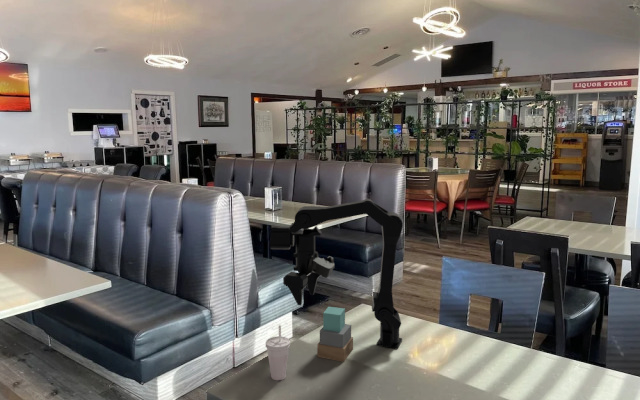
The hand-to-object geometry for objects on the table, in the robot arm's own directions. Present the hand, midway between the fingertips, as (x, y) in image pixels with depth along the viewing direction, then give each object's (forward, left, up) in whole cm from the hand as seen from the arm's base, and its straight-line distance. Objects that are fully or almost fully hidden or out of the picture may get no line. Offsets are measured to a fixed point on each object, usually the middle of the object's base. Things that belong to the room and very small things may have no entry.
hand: (305, 299), depth 139 cm
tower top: (+4, +11, -9) cm, 15 cm away
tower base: (+4, +11, -13) cm, 18 cm away
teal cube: (+4, +11, -5) cm, 13 cm away
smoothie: (+22, +2, -13) cm, 26 cm away
